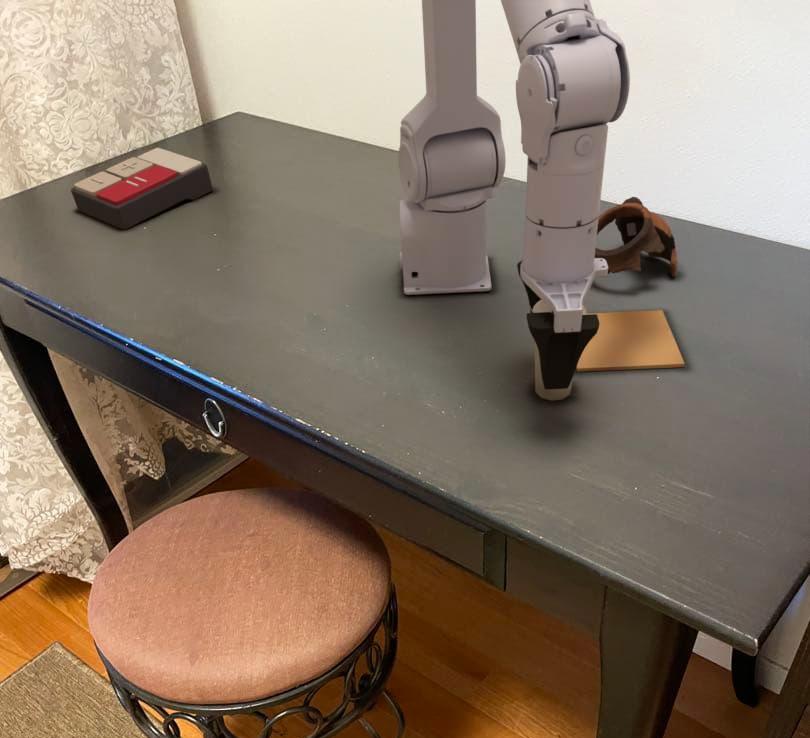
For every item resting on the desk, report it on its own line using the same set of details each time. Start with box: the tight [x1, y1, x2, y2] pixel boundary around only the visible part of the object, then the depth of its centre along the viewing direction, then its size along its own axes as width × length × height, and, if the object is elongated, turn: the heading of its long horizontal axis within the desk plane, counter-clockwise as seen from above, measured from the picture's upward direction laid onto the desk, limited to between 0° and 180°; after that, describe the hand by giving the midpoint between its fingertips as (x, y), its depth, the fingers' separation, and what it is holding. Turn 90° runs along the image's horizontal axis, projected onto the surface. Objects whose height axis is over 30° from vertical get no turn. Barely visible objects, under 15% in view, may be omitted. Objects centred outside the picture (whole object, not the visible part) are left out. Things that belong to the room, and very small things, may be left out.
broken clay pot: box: [594, 196, 678, 278], centre depth 92 cm, size 12×10×8 cm
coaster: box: [576, 309, 685, 372], centre depth 83 cm, size 10×10×1 cm
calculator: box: [70, 147, 214, 231], centre depth 114 cm, size 11×4×15 cm
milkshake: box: [524, 292, 587, 402], centre depth 74 cm, size 4×5×10 cm
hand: (550, 362), depth 76 cm, fingers open, 7 cm apart
